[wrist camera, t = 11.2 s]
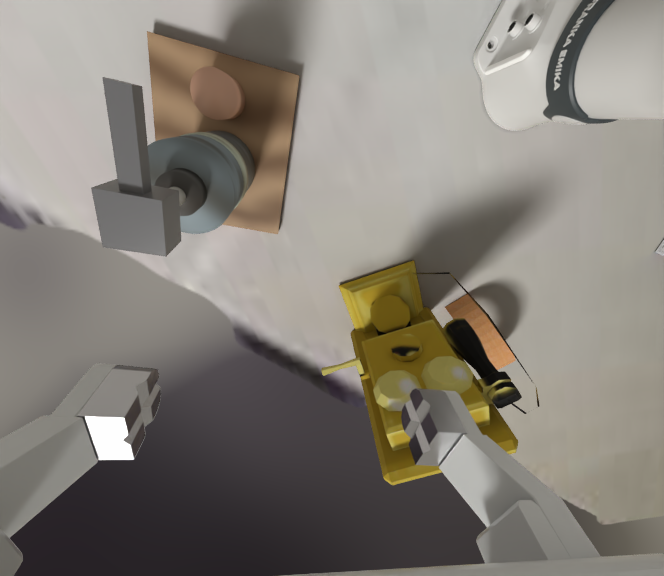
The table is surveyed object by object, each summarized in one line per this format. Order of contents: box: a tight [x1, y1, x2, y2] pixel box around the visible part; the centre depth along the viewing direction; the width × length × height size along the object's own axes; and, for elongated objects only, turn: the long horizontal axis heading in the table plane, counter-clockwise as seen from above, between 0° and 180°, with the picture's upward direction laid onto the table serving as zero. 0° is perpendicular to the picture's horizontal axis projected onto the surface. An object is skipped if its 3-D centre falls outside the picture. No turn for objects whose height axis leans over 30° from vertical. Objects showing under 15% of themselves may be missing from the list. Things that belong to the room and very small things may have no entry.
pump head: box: [91, 77, 186, 256], centre depth 21 cm, size 10×4×8 cm, turn 167°
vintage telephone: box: [322, 260, 539, 485], centre depth 45 cm, size 31×14×30 cm, turn 108°
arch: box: [445, 294, 515, 370], centre depth 61 cm, size 6×20×10 cm, turn 36°
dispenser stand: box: [147, 31, 299, 234], centre depth 33 cm, size 22×18×20 cm
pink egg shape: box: [190, 66, 245, 120], centre depth 34 cm, size 5×5×6 cm
